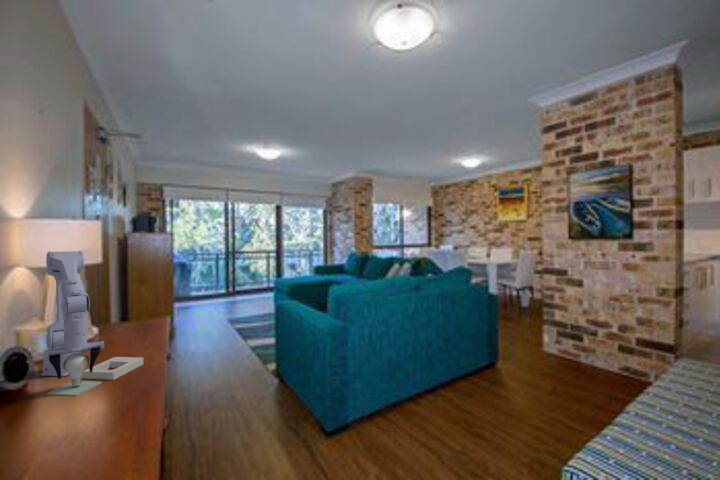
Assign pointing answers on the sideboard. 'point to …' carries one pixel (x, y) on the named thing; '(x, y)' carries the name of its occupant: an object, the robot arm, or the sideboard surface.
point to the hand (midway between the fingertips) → (75, 374)
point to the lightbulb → (76, 367)
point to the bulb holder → (119, 363)
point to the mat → (74, 389)
